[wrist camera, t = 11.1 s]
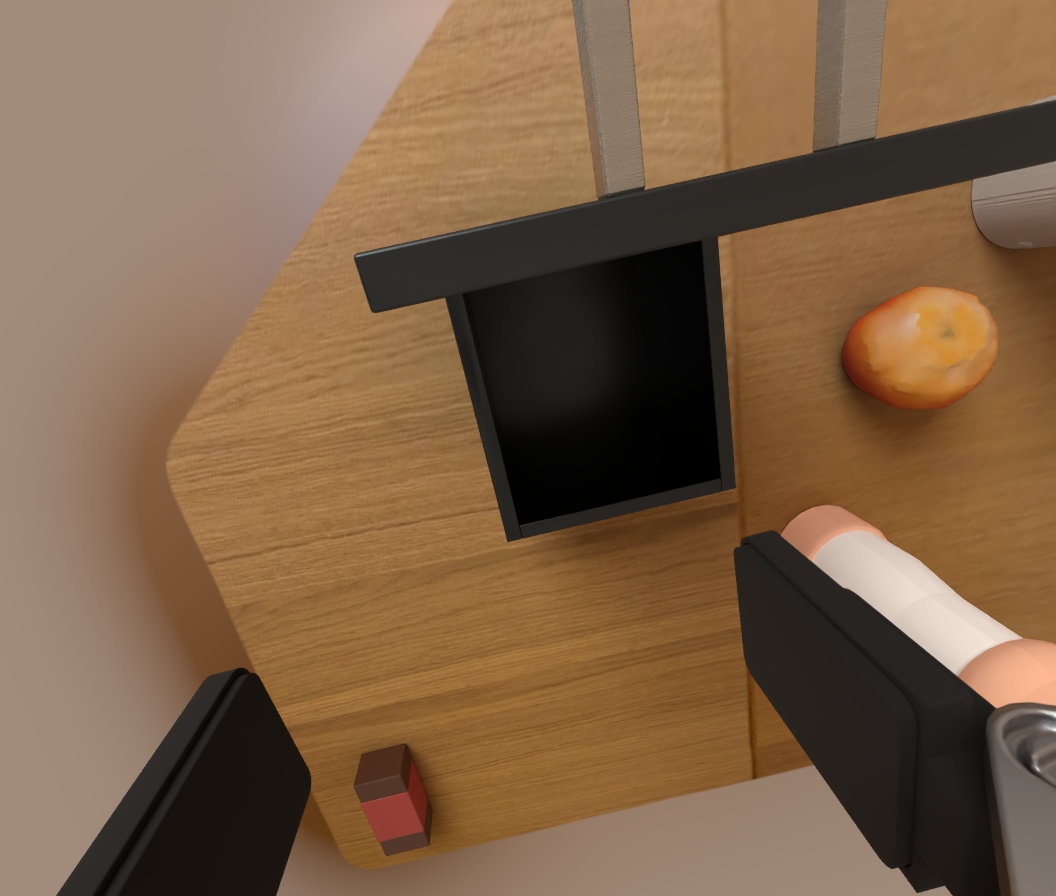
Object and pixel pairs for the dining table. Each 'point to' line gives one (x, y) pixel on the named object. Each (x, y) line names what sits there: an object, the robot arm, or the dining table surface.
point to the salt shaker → (926, 608)
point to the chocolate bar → (394, 799)
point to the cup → (1018, 205)
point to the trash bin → (600, 387)
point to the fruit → (922, 348)
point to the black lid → (722, 199)
